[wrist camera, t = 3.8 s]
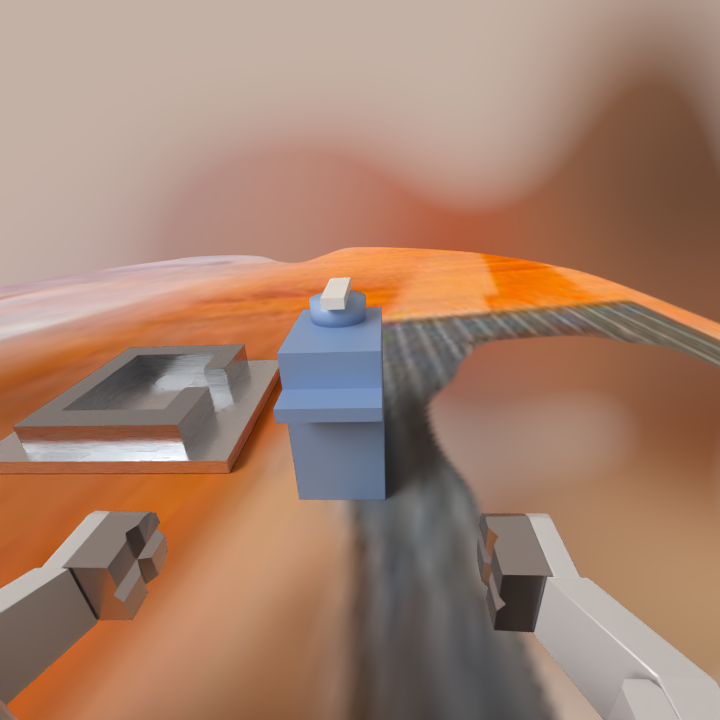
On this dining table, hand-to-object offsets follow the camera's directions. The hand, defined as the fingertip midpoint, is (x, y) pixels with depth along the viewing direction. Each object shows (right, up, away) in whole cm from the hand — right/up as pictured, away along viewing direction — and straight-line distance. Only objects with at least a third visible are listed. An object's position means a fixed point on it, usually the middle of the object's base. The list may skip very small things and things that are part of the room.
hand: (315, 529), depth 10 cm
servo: (0, -1, +11) cm, 11 cm away
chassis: (-12, +1, +16) cm, 20 cm away
